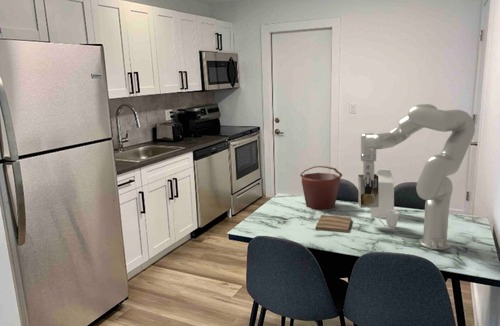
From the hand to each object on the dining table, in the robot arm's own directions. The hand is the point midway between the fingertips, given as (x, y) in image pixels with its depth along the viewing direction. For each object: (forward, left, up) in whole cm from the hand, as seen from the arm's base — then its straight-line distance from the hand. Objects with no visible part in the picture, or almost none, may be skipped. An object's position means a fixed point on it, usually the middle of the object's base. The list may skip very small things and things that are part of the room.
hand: (368, 191), depth 196 cm
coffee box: (0, 0, -8) cm, 8 cm away
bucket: (+28, +29, -18) cm, 44 cm away
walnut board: (-4, +17, -18) cm, 24 cm away
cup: (0, -10, -18) cm, 21 cm away
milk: (+20, -7, -18) cm, 28 cm away
